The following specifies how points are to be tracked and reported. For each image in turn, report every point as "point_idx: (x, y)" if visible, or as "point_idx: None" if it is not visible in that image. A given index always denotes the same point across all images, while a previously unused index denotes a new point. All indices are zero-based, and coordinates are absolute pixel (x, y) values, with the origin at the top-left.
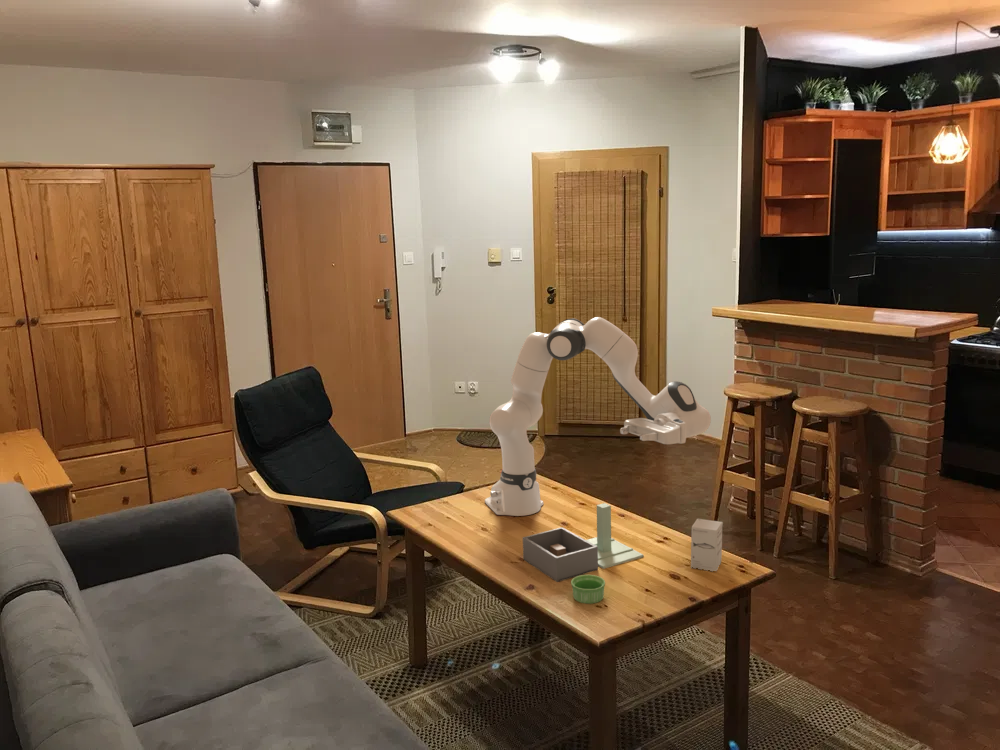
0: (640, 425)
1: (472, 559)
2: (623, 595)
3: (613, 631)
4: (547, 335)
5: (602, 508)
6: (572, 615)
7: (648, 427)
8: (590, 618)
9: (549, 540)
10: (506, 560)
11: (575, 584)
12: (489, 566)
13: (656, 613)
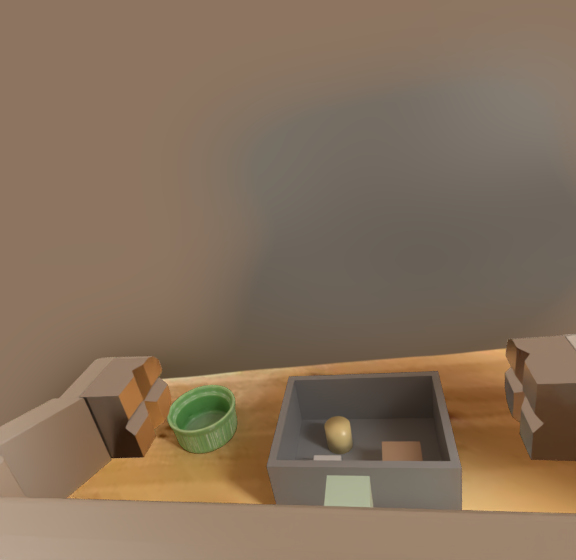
0: (408, 514)
1: (489, 355)
2: (152, 481)
3: None
4: None
5: (327, 476)
6: (191, 387)
7: (113, 518)
8: None
9: (443, 447)
10: (453, 393)
11: (228, 403)
12: (439, 365)
13: None
